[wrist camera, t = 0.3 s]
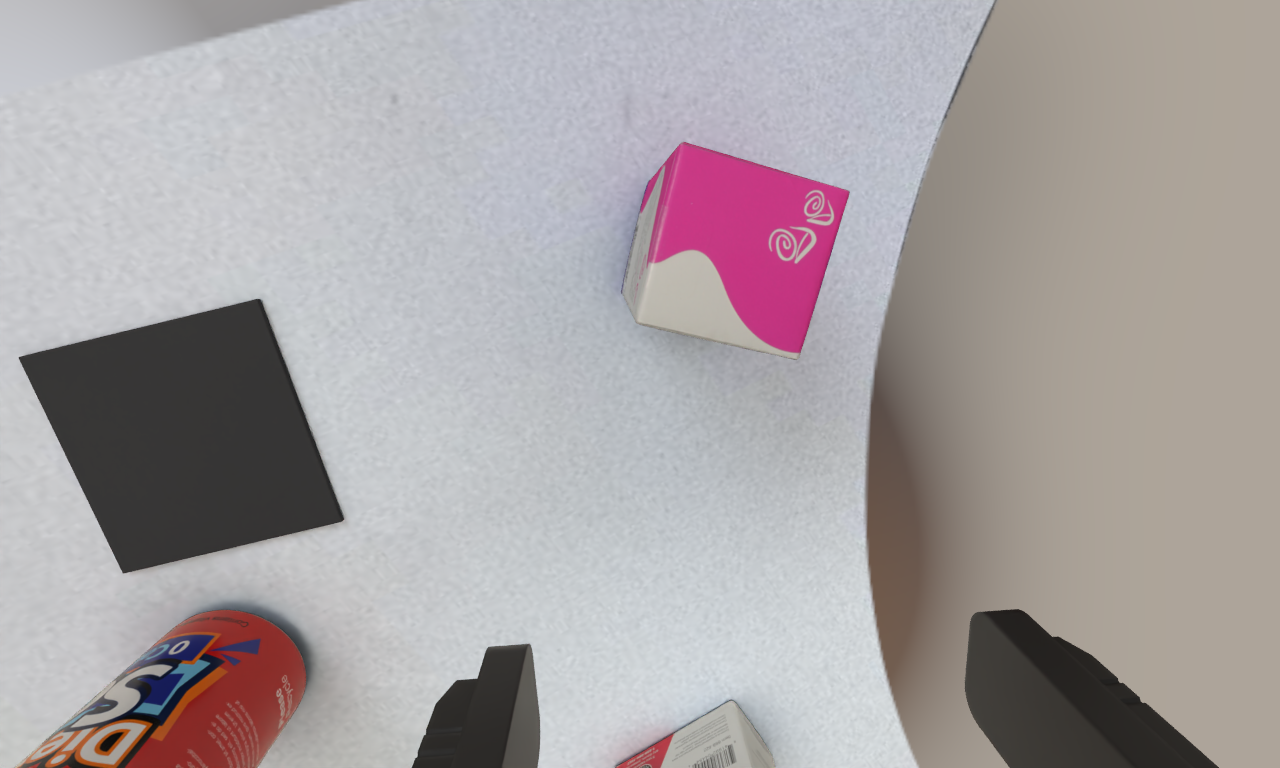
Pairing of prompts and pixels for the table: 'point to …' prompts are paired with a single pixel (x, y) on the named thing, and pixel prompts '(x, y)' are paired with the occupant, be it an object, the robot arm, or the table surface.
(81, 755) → the soda can
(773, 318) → the supplement box
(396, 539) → the table surface
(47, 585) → the table surface
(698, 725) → the ink box
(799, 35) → the table surface
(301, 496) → the felt pad
